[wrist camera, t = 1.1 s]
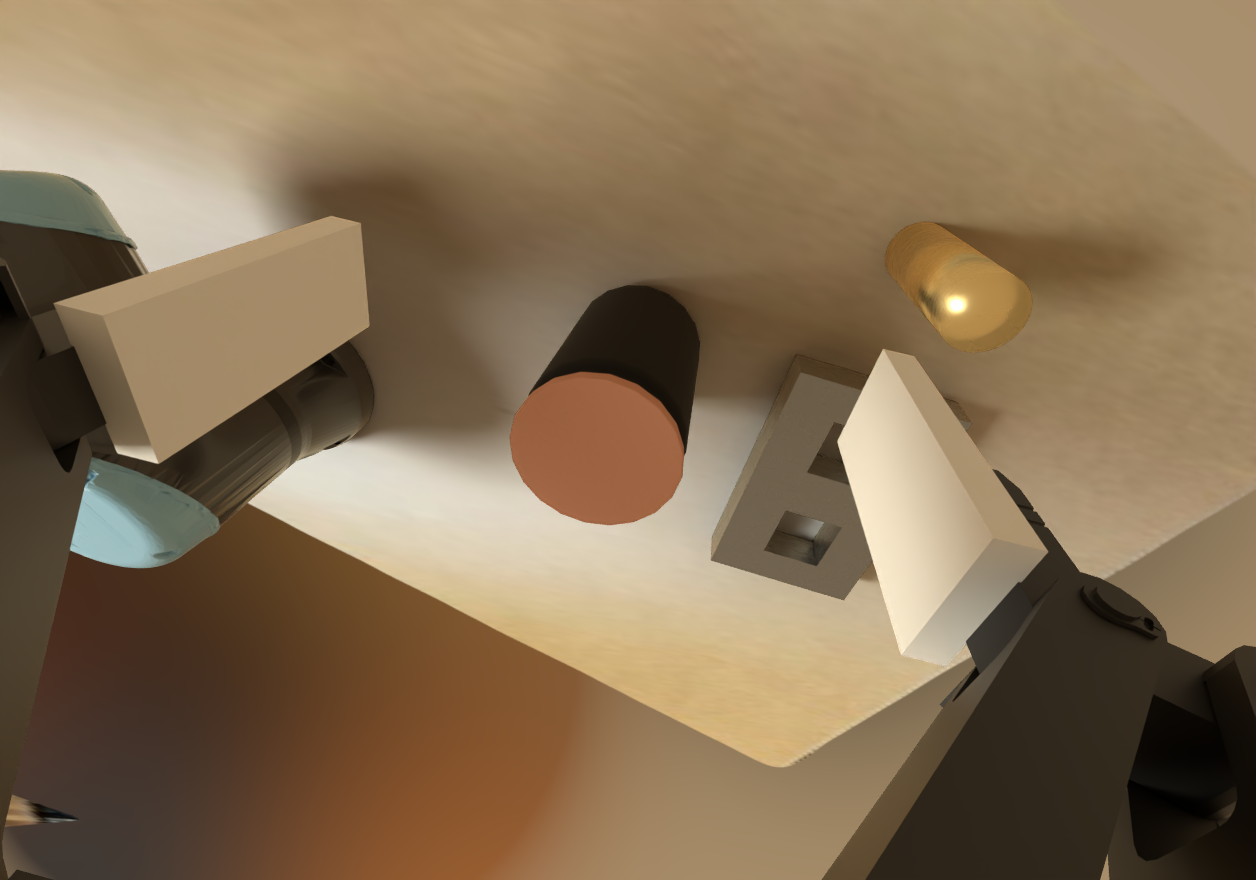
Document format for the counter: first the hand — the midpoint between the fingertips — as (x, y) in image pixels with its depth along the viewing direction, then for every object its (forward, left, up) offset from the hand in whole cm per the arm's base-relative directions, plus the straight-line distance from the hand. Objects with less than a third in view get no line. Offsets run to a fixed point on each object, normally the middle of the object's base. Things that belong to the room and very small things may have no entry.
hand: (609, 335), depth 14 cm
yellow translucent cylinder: (+18, -1, -31) cm, 36 cm away
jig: (+20, -22, -31) cm, 43 cm away
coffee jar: (0, -14, -31) cm, 34 cm away
